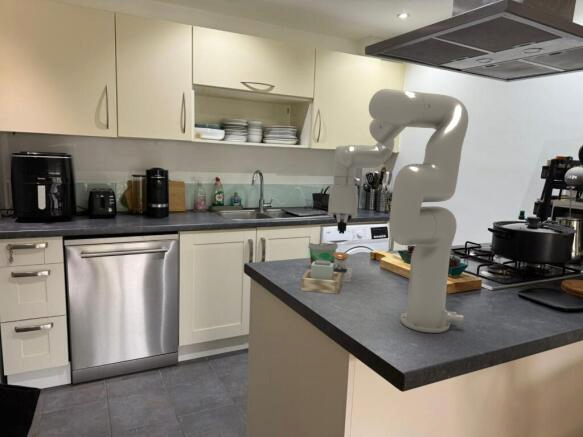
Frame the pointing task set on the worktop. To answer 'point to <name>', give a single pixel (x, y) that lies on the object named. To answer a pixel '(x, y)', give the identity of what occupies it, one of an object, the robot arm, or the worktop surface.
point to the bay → (321, 283)
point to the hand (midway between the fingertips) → (341, 232)
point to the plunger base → (346, 275)
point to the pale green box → (322, 270)
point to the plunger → (340, 261)
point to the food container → (322, 251)
